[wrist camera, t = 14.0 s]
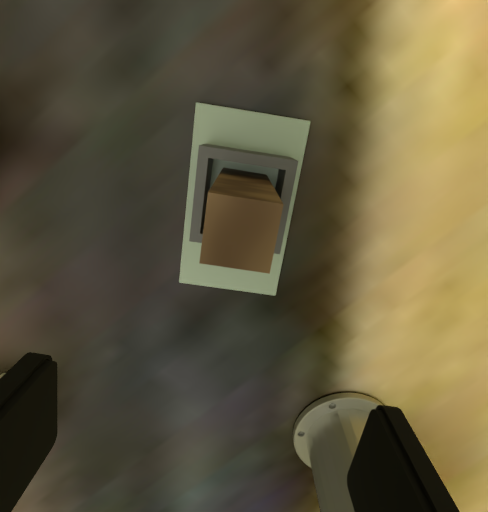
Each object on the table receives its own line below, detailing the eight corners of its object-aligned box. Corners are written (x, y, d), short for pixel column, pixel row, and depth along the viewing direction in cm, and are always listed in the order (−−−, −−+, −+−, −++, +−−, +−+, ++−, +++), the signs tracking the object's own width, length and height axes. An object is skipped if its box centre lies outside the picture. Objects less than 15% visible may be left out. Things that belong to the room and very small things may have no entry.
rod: (266, 174, 31) (283, 204, 18) (259, 216, 32) (269, 273, 19) (223, 167, 31) (207, 192, 18) (217, 210, 32) (199, 263, 19)
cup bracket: (308, 121, 31) (323, 118, 25) (274, 290, 36) (280, 320, 30) (197, 103, 30) (186, 96, 24) (181, 277, 36) (168, 305, 30)
